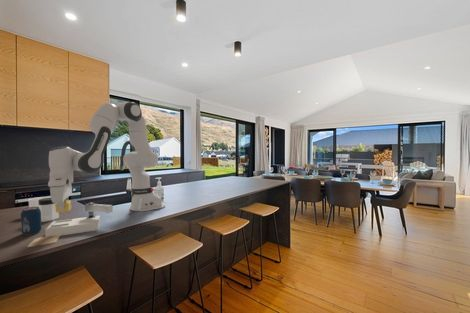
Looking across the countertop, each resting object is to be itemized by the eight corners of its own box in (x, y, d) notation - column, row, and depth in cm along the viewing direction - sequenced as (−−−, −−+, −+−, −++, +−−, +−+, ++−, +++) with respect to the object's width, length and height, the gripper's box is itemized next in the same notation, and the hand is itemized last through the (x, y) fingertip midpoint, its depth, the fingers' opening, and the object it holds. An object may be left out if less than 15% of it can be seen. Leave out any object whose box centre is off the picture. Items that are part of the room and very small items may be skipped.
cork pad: (61, 235, 97) (61, 234, 97) (55, 242, 89) (55, 242, 89) (35, 239, 93) (35, 238, 93) (27, 247, 85) (27, 246, 85)
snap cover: (71, 208, 105) (70, 199, 105) (69, 211, 101) (68, 201, 101) (58, 209, 103) (58, 200, 103) (55, 212, 99) (55, 203, 98)
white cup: (34, 217, 123) (33, 200, 123) (25, 215, 126) (25, 199, 125) (49, 213, 131) (49, 197, 130) (41, 212, 133) (40, 196, 133)
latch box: (100, 222, 114) (100, 214, 114) (97, 230, 103) (97, 220, 103) (53, 229, 105) (53, 220, 104) (45, 238, 94) (45, 228, 94)
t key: (89, 215, 113) (89, 202, 112) (113, 217, 109) (112, 203, 109) (84, 217, 110) (84, 203, 110) (108, 219, 107) (108, 205, 106)
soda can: (41, 228, 105) (40, 205, 104) (41, 232, 100) (40, 208, 99) (22, 232, 100) (21, 208, 100) (21, 237, 95) (20, 211, 95)
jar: (36, 223, 113) (35, 201, 113) (39, 218, 120) (39, 198, 120) (57, 219, 118) (57, 199, 118) (59, 216, 125) (59, 196, 124)
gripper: (59, 177, 109) (61, 202, 110) (46, 183, 91) (48, 214, 92) (74, 176, 112) (76, 201, 113) (64, 182, 94) (66, 212, 94)
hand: (63, 207), depth 102 cm, fingers closed on snap cover, 5 cm apart
